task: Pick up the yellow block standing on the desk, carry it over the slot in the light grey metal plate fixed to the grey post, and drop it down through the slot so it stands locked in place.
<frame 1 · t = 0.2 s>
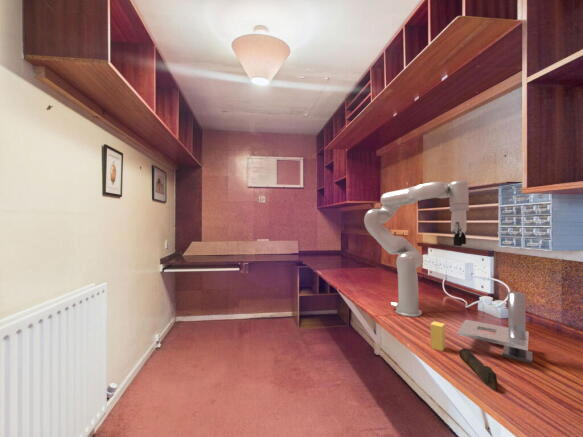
hand: (459, 244, 130), 36 cm above the worktop, tool pointing down, fingers open, 9 cm apart
yellow block: (438, 347, 106), on the worktop
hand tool: (480, 374, 89), on the worktop
gray plate with post: (486, 348, 105), on the worktop
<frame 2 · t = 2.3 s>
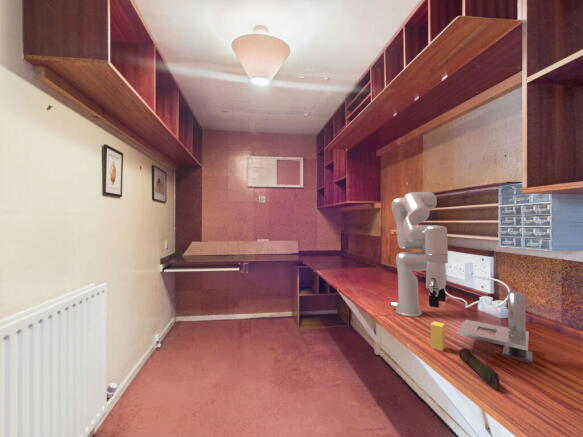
hand: (437, 303, 106), 17 cm above the worktop, tool pointing down, fingers open, 9 cm apart
nothing on the worktop moved.
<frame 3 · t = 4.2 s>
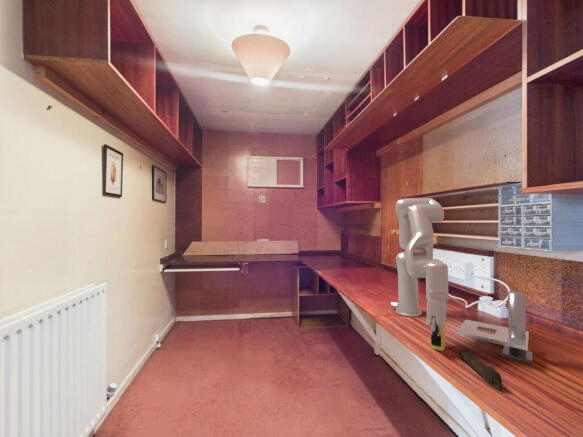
hand: (437, 342, 106), 2 cm above the worktop, tool pointing down, fingers closed on yellow block, 4 cm apart
yellow block: (438, 347, 106), on the worktop, touching gripper
everything else where it was.
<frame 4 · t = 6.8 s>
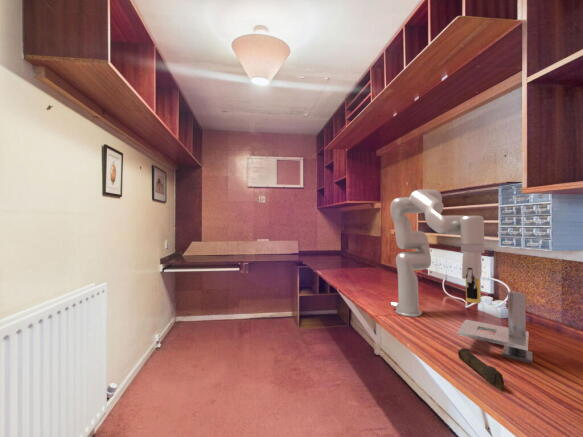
hand: (473, 296, 106), 19 cm above the worktop, tool pointing down, fingers closed on yellow block, 4 cm apart
yellow block: (473, 301, 106), point 18 cm above the worktop, touching gripper
everything else where it was.
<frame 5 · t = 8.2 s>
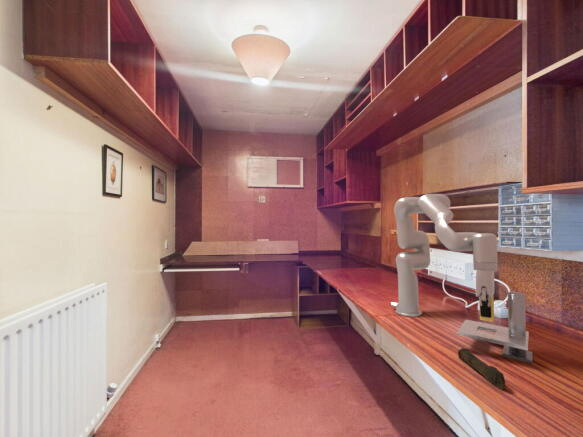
hand: (486, 314, 105), 13 cm above the worktop, tool pointing down, fingers closed on yellow block, 4 cm apart
yellow block: (487, 319, 105), point 11 cm above the worktop, touching gripper
when the fingers open (8 cm above the worktop, at t = 9.4 s): yellow block drops 6 cm, on the worktop.
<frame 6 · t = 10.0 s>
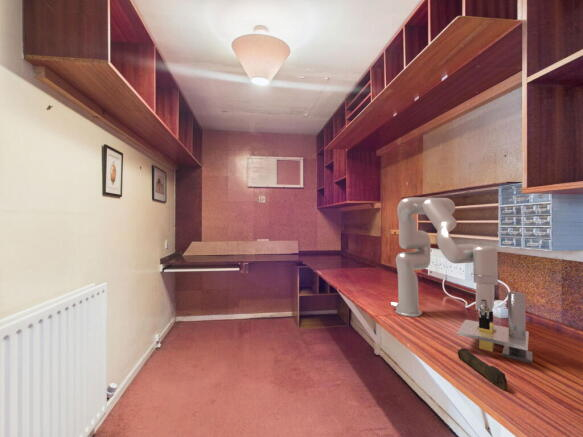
hand: (486, 324, 105), 9 cm above the worktop, tool pointing down, fingers open, 9 cm apart
yellow block: (486, 348, 105), on the worktop
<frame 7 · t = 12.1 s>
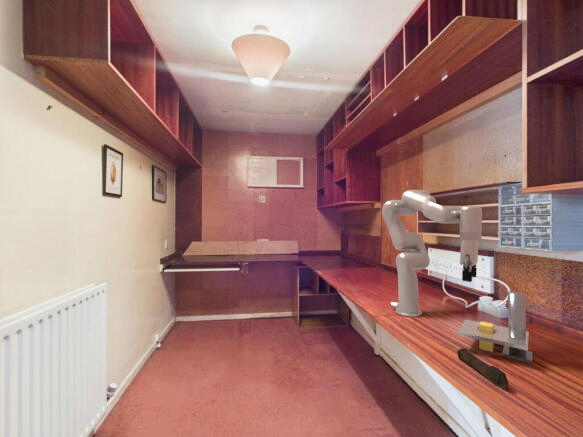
hand: (469, 278, 114), 24 cm above the worktop, tool pointing down, fingers open, 9 cm apart
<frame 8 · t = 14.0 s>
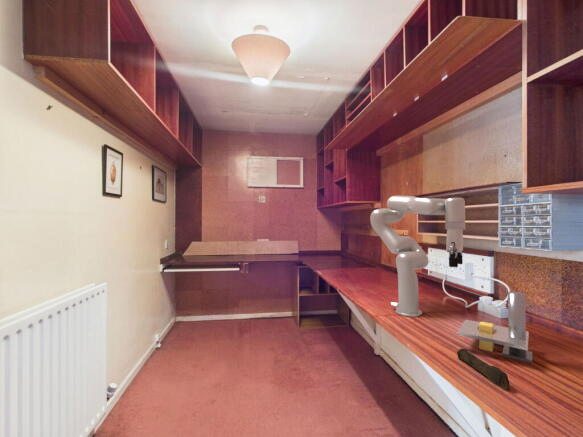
hand: (455, 265, 122), 28 cm above the worktop, tool pointing down, fingers open, 9 cm apart
at the end: yellow block 0.1 cm off-centre on the gray plate with post, point 0.0 cm above the gray plate with post's base; yellow block tilted 0°; the gripper is holding nothing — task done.
